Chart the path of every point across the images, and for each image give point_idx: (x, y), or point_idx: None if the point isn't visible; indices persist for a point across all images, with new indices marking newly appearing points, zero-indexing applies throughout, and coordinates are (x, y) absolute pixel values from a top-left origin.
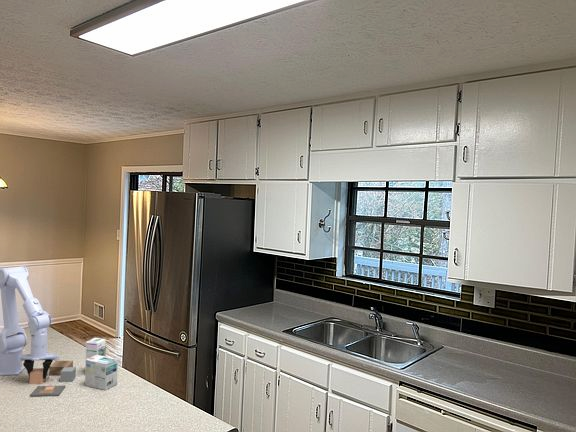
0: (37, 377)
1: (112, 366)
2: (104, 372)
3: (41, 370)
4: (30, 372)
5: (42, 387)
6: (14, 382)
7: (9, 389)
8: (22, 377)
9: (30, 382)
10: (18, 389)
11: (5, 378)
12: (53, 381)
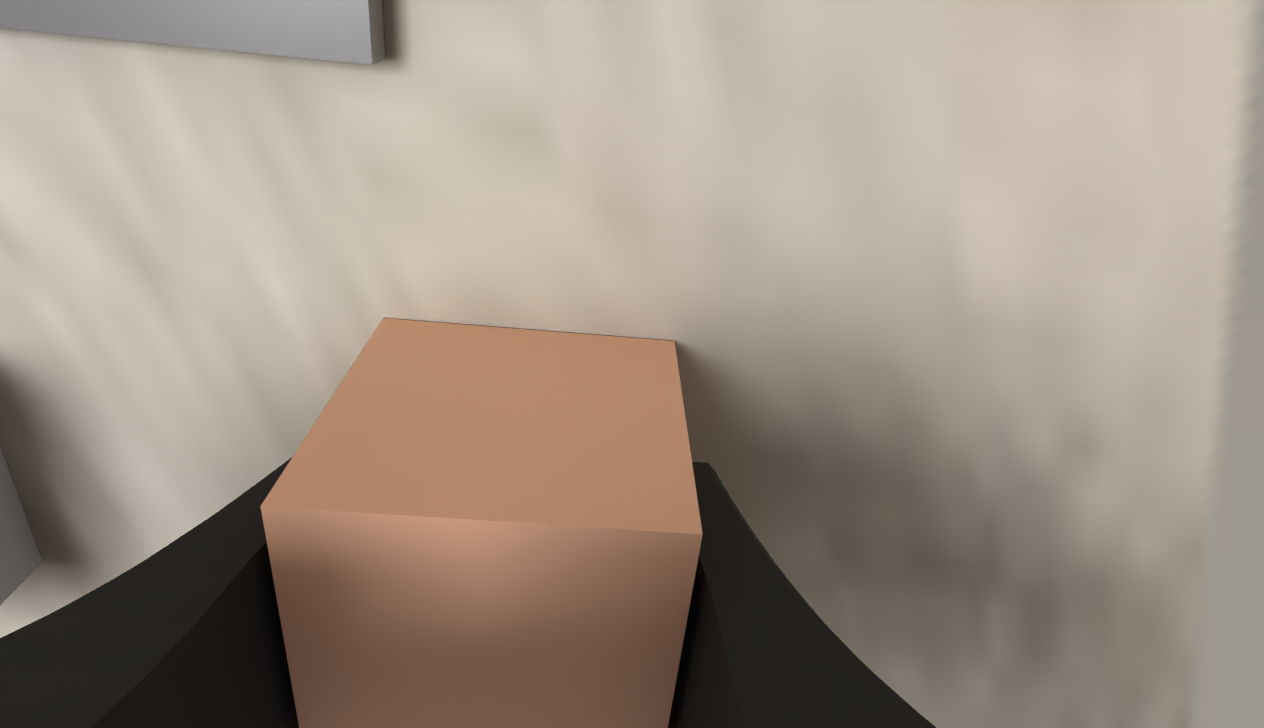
0: (464, 412)
1: None
2: None
3: (376, 659)
4: (691, 557)
5: None
6: (1015, 467)
7: (1122, 60)
8: (883, 658)
9: (656, 355)
10: (888, 16)
11: (1180, 652)
12: (165, 409)
